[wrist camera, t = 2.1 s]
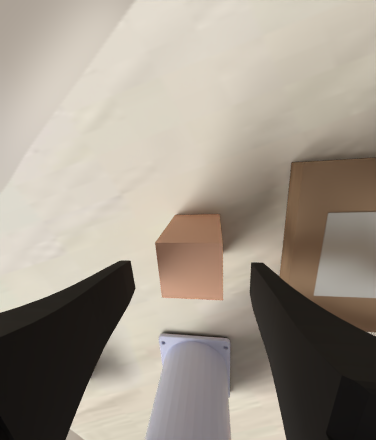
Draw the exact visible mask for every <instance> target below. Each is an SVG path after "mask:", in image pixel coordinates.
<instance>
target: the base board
mask: <svg viewBox="0 0 376 440" xmlns="http://www.w3.org/2000/svg"><path fill="white" fill-rule="evenodd" d="M280 278H281V279H283V280H284V281H285V282H286V283H288V284H289V285H290V286H292V287H293V288H294V289H295V290H297V291H298V292H300V293H301V294H302V295H304V296H305V297H307V298H308V299H310V300H311V301H313V302H314V303H316V304H317V305H319V306H320V307H322V308H324V309H325V310H327V311H329V312H330V313H332V314H334V315H335V316H337V317H339V318H341V319H343V320H344V321H346V322H348V323H350V324H352V325H354V326H356V327H357V328H359V329H361V330H363V331H366V332H376V158H360V159H343V160H326V161H309V162H292V163H291V173H290V183H289V192H288V202H287V212H286V221H285V231H284V240H283V250H282V260H281V269H280Z"/></svg>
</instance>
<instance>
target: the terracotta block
mask: <svg viewBox="0 0 376 440" xmlns="http://www.w3.org/2000/svg"><path fill="white" fill-rule="evenodd" d="M155 245H156V253H157V261H158V269H159V277H160V285H161V293H162V298H184V299H207V300H223V241H222V232H221V223H220V214H199V215H175V216H174V217H173V219H172V220H171V221H170V223H169V224H168V226H167V227H166V228H165V230H164V231H163V233H162V234H161V235H160V237H159V238H158V240H157V241H156V242H155Z"/></svg>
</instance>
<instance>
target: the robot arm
mask: <svg viewBox="0 0 376 440" xmlns="http://www.w3.org/2000/svg"><path fill="white" fill-rule="evenodd" d="M134 291H135V283H134V278H133V272H132V267H131V261H119V262H117V263H115V264H113V265H111V266H109V267H107V268H105V269H103V270H101V271H100V272H98V273H96V274H94V275H92V276H90V277H88V278H86V279H84V280H82V281H80V282H78V283H76V284H75V285H73V286H71V287H68V288H66V289H64V290H62V291H60V292H57V293H55V294H52V295H50V296H48V297H45V298H43V299H40V300H37V301H34V302H32V303H29V304H26V305H23V306H21V307H18V308H15V309H11V310H8V311H5V312H2V313H0V440H66V437H67V434H68V432H69V429H70V426H71V424H72V421H73V419H74V416H75V414H76V411H77V409H78V406H79V404H80V401H81V399H82V396H83V394H84V391H85V389H86V387H87V384H88V382H89V380H90V378H91V375H92V373H93V371H94V368H95V366H96V364H97V362H98V360H99V358H100V355H101V353H102V351H103V349H104V347H105V345H106V343H107V341H108V340H109V338H110V336H111V334H112V333H113V331H114V329H115V328H116V326H117V324H118V322H119V321H120V319H121V317H122V316H123V314H124V312H125V310H126V309H127V307H128V305H129V303H130V301H131V298H132V296H133V293H134ZM250 297H251V302H252V307H253V311H254V314H255V318H256V321H257V324H258V327H259V330H260V333H261V336H262V339H263V342H264V345H265V349H266V352H267V355H268V359H269V362H270V366H271V370H272V375H273V379H274V384H275V388H276V392H277V397H278V402H279V406H280V411H281V415H282V420H283V425H284V430H285V435H286V440H376V336H373V335H371V334H369V333H367V332H365V331H363V330H361V329H359V328H357V327H356V326H354V325H352V324H350V323H348V322H346V321H344V320H343V319H341V318H339V317H337V316H335V315H334V314H332V313H330V312H329V311H327V310H325V309H324V308H322V307H320V306H319V305H317V304H316V303H314V302H313V301H311V300H310V299H308V298H307V297H305V296H304V295H302V294H301V293H300V292H298V291H297V290H295V289H294V288H293V287H292V286H290V285H289V284H288V283H286V282H285V281H284V280H283V279H281V278H280V277H279V276H278V275H277V274H276V273H274V272H273V271H272V270H271V269H270V268H269V267H267V266H266V265H265V264H264V263H251V279H250ZM159 344H160V351H161V358H162V365H163V368H162V372H161V376H160V380H159V384H158V388H157V392H156V396H155V400H154V404H153V408H152V412H151V416H150V420H149V424H148V428H147V432H146V436H145V440H231V430H230V414H229V399H228V398H229V397H230V340H229V339H227V338H218V337H205V336H191V335H178V334H165V333H162V334H160V336H159Z"/></svg>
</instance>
